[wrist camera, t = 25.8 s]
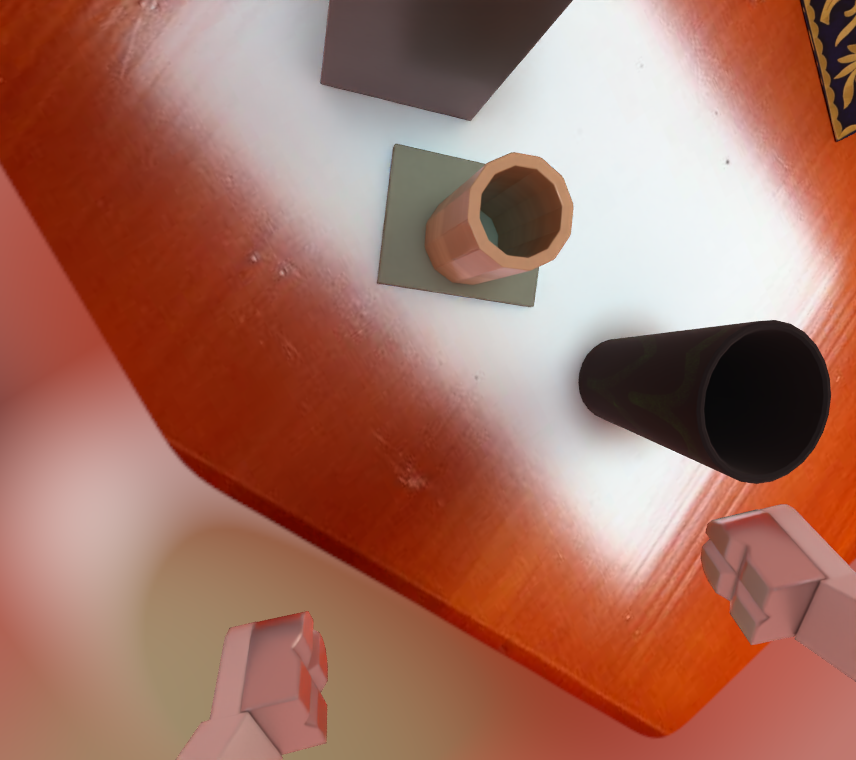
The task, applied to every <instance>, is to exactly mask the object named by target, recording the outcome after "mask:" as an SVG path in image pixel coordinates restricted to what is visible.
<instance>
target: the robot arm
mask: <svg viewBox="0 0 856 760" xmlns="http://www.w3.org/2000/svg"><path fill="white" fill-rule="evenodd" d="M706 534H707V535H708V536H709V538H710V539H709V540H708V541H707V542H706V543H705V544H704V545H703V546H702V552H701V562H702V566H703V570H704V573H705V575H706V577H707V579H708V581H709V583H710V584H711V586H712V587H713V589H714V590H715V592H716V593H717V594H719V595H721V596H723V597H724V598H726V599H728V600H729V601H730V614H731V616H732V617H733V619H734V620H735V622H736V623H737V625H738V626H739V628H740V629H741V631H742V632H743V633H744V635H745V636H746V638H747V639H748V641H749V642H750V644H751V645H754V644H759V643H764V642H769V641H774V640H779V639H784V638H789V637H794V636H796V637H795V640H797V641H798V642H800V643H801V644H803V645H804V646H805V647H807V648H808V649H810V650H811V651H813V652H814V653H815V654H817V655H818V656H820V657H821V658H823V659H824V660H825V661H827V662H828V663H830V664H831V665H833V666H834V667H835V668H837V669H838V670H840V671H841V672H843V673H844V674H845V675H847V676H848V677H850V678H851V679H853V680H854V681H856V572H855V571H854V570H853V569H852V568H851V567H850V566H849V565H848V564H847V563H846V562H845V561H844V560H843V559H842V558H841V557H840V556H839V555H838V554H837V553H836V552H835V551H834V550H833V549H832V547H831V546H830V545H829V544H828V543H827V542H826V541H825V540H824V539H823V538H822V537H821V536H820V535H819V534H818V533H817V532H816V531H815V530H814V529H813V528H812V527H811V526H810V525H809V524H808V523H807V522H806V520H805V519H804V518H803V517H802V516H801V515H800V514H799V513H798V512H797V511H796V510H795V509H794V508H792V507H791V506H789V505H787V504H783V505H777V506H772V507H768V508H764V509H760V510H753V511H748V512H744V513H740V514H736V515H732V516H728V517H724V518H720V519H715V520H712V521H711V522H709V523H708V524H707V528H706ZM327 668H328V665H327V657H326V649H325V645H324V642H323V639H322V636H321V634H320V633H319V632H317V631H315V630H313V618H312V617H311V615H310V613H309V612H308V611H306V612H301V613H297V614H292V615H287V616H283V617H278V618H274V619H269V620H264V621H260V622H253V623H249V624H244V625H240V626H235V627H231V628H229V631H228V633H227V635H226V637H225V640H224V645H223V651H222V656H221V662H220V667H219V672H218V678H217V683H216V688H215V694H214V699H213V704H212V710H211V715H210V720H208V721H204V722H201V724H200V725H199V727H198V728H197V729H196V731H195V732H194V734H193V735H192V737H191V738H190V740H189V741H188V742H187V744H186V746H185V747H184V748H183V750H182V751H181V752H180V754H179V755H178V757H177V758H176V760H282V759H283V757H282V756H281V755H283V754H287V753H291V752H295V751H299V750H302V749H306V748H310V747H314V746H318V745H321V744H325V743H326V738H327V737H326V736H327V704H326V703H325V700H324V699H323V697H322V695H321V691H322V690H323V688H324V686H325V684H326V683H327V681H328V678H327V677H328V675H327V674H328V673H327V671H328V669H327Z"/></svg>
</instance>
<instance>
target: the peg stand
mask: <svg viewBox="0 0 856 760" xmlns="http://www.w3.org/2000/svg"><path fill="white" fill-rule="evenodd" d="M572 1H573V0H329V9H328V18H327V28H326V37H325V46H324V55H323V64H322V73H321V82H320V83H321V84H324V85H328V86H332V87H336V88H341V89H345V90H349V91H353V92H357V93H361V94H365V95H369V96H373V97H377V98H381V99H385V100H389V101H393V102H397V103H401V104H405V105H409V106H414V107H418V108H422V109H426V110H430V111H434V112H438V113H442V114H446V115H450V116H454V117H458V118H462V119H466V120H472V118H473V117H474V116H475V115H476V114H477V113H478V111H479V110H480V109H481V108H482V107H483V105H484V104H485V103H486V102H487V101H488V100H489V98H490V97H491V96H492V95H493V94H494V93H495V91H496V90H497V89H498V88H499V87H500V85H501V84H502V83H503V82H504V81H505V80H506V78H507V77H508V76H509V75H510V74H511V72H512V71H513V70H514V69H515V68H516V67H517V65H518V64H519V63H520V62H521V61H522V60H523V58H524V57H525V56H526V55H527V54H528V52H529V51H530V50H531V49H532V48H533V47H534V45H535V44H536V43H537V42H538V41H539V40H540V38H541V37H542V36H543V35H544V34H545V32H546V31H547V30H548V29H549V28H550V27H551V25H552V24H553V23H554V22H555V21H556V20H557V18H558V17H559V16H560V15H561V14H562V12H563V11H564V10H565V9H566V8H567V7H568V5H569V4H570V3H571V2H572Z"/></svg>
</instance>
